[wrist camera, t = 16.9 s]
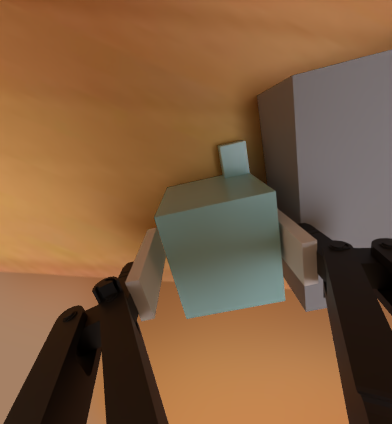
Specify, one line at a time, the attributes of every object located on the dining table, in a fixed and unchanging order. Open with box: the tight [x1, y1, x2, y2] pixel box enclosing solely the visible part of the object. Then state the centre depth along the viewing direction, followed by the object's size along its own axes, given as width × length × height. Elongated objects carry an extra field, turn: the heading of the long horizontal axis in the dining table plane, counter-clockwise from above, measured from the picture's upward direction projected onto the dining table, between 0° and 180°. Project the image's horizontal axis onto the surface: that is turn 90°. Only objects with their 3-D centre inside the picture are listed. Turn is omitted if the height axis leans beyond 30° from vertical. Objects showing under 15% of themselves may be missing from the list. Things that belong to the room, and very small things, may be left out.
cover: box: [154, 140, 285, 319], centre depth 16 cm, size 10×7×7 cm, turn 12°
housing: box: [257, 50, 392, 312], centre depth 15 cm, size 16×16×6 cm
